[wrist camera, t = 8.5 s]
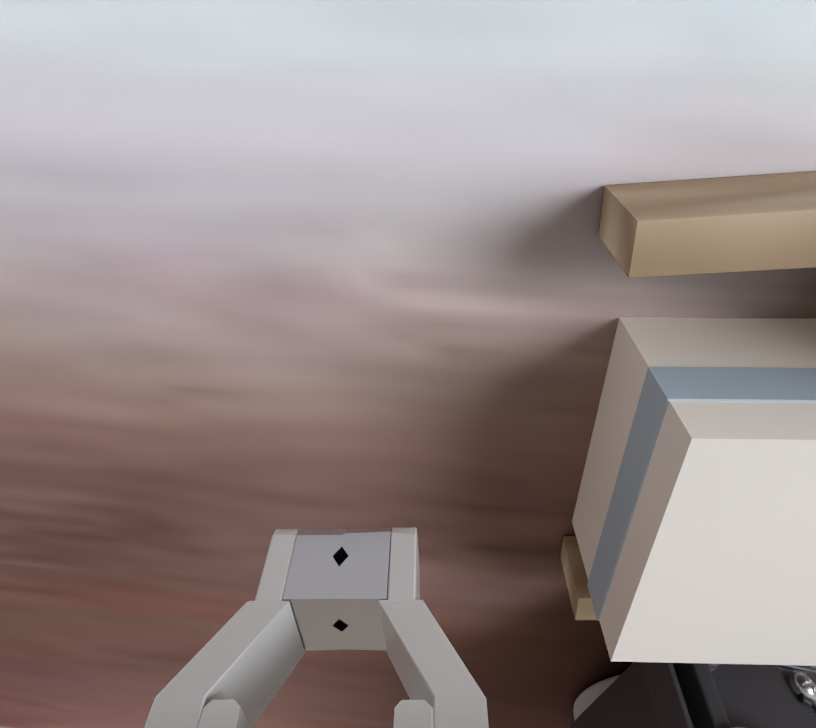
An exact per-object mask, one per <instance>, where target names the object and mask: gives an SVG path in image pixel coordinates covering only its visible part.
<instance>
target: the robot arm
mask: <svg viewBox="0 0 816 728" xmlns="http://www.w3.org/2000/svg"><path fill="white" fill-rule="evenodd" d="M344 649H348V650H387V654H388V656H389V658H390V660H391V662H392V664H393V666H394V668H395V670H396V672H397V674H398V676H399V678H400V680H401V682H402V684H403V686H404V688H405V690H406V692H407V694H408V696H409V698H410V700H401V701H400V702H399V703H398V704H397V706H396V707H395V708H394V725H393V728H489V724H488V713H487V701H486V697H485V696H484V694H483V693H482V691H481V689H480V688H479V686H478V685H477V683H476V682H475V680H474V679H473V677H472V676H471V674H470V672H469V671H468V669H467V668H466V666H465V665H464V663H463V662H462V660H461V658H460V657H459V655H458V654H457V652H456V651H455V649H454V648H453V646H452V645H451V643H450V641H449V640H448V638H447V637H446V635H445V634H444V632H443V631H442V629H441V628H440V626H439V624H438V623H437V621H436V620H435V618H434V617H433V615H432V614H431V612H430V611H429V609H428V607H427V606H426V604H425V603H424V601H423V600H420V574H419V553H418V537H417V527H407V528H392V527H380V528H346V529H276V530H275V532H274V534H273V535H272V538H271V541H270V545H269V549H268V552H267V556H266V560H265V563H264V567H263V571H262V575H261V578H260V582H259V586H258V589H257V593H256V597H255V600H254V601H247V602H246V603H245V604H244V605H243V606H242V607H241V608H240V609H239V610H238V611H237V612H236V613H235V614H234V616H233V617H232V618H231V619H230V620H229V621H228V622H227V623H226V624H225V625H224V626H223V627H222V628H221V629H220V630H219V631H218V632H217V633H216V634H215V635H214V636H213V637H212V638H211V640H210V641H209V642H208V643H207V644H206V645H205V646H204V647H203V648H202V649H201V650H200V651H199V652H198V653H197V654H196V655H195V656H194V657H193V658H192V659H191V660H190V661H189V662H188V664H187V665H186V666H185V667H184V668H183V669H182V670H181V671H180V672H179V673H178V674H177V675H176V676H175V677H174V678H173V679H172V680H171V681H170V682H169V683H168V684H167V685H166V686H165V688H164V689H163V690H162V691H161V692H160V693H159V694H158V695H157V696H156V697H155V700H154V702H153V705H152V708H151V710H150V713H149V716H148V718H147V721H146V724H145V726H144V728H254V726H255V725H256V723H257V722H258V720H259V719H260V717H261V716H262V715H263V713H264V712H265V710H266V709H267V707H268V706H269V705H270V703H271V702H272V700H273V699H274V697H275V696H276V695H277V693H278V692H279V690H280V689H281V687H282V686H283V685H284V683H285V682H286V680H287V679H288V677H289V676H290V675H291V673H292V672H293V670H294V669H295V667H296V666H297V665H298V663H299V662H300V660H301V659H302V657H303V656H304V655H305V651H312V650H344Z"/></svg>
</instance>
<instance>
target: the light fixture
mask: <svg viewBox="0 0 816 728" xmlns="http://www.w3.org/2000/svg"><path fill="white" fill-rule="evenodd" d="M573 715H574V723H573V724H572V726H571V728H816V666H800V665H753V664H707V663H660V662H633V663H632V664H631V665H630V666H629V667H628V668H627V669H626V670H625V671H624V672H623V673H622V674H621V675H617V676H614V677H610V678H607V679H605V680H602V681H600V682H597V683H595V684H593V685H592V686H590V687H588V688H587V689H586V690H584V691H583V692H582V693H581V694H580V695H579V696H578V698H577V699H576V701H575V703H574V706H573Z"/></svg>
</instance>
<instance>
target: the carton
mask: <svg viewBox="0 0 816 728" xmlns="http://www.w3.org/2000/svg"><path fill="white" fill-rule="evenodd" d="M572 524H573V528H574V531H575V535H576V538H577V542H578V546H579V549H580V553H581V556H582V560H583V563H584V567H585V571H586V574H587V578H588V583H587V586H588V589H589V593H590V597H591V600H592V604H593V608H594V611H595V615H596V619H597V621H600V625H601V628H602V632H603V635H604V639H605V643H606V646H607V650H608V653H609V657H610V661H613V662H660V663H707V664H753V665H800V666H816V319H771V318H626V317H619V321H618V325H617V330H616V334H615V338H614V343H613V347H612V351H611V355H610V360H609V364H608V368H607V373H606V377H605V381H604V386H603V390H602V394H601V398H600V403H599V407H598V411H597V416H596V420H595V424H594V429H593V433H592V437H591V442H590V446H589V450H588V454H587V459H586V463H585V467H584V472H583V476H582V480H581V485H580V489H579V493H578V498H577V502H576V506H575V510H574V515H573V519H572Z"/></svg>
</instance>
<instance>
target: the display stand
mask: <svg viewBox="0 0 816 728" xmlns="http://www.w3.org/2000/svg"><path fill="white" fill-rule="evenodd" d="M599 237H600V238H601V240H602V241H603V242H604V244H605V245H606V247H607V248H608V249H609V251H610V252H611V254H612V255H613V256H614V258H615V259H616V261H617V262H618V264H619V265H620V266H621V268H622V269H623V271H624V272H625V273H626V275H627V276H628V278H637V277H654V276H672V275H689V274H707V273H724V272H742V271H760V270H777V269H795V268H812V267H816V171H810V172H795V173H780V174H765V175H751V176H736V177H721V178H706V179H691V180H677V181H662V182H647V183H632V184H618V185H605V186H604V194H603V203H602V211H601V219H600V228H599ZM561 563H562V567H563V571H564V575H565V579H566V584H567V588H568V592H569V596H570V600H571V605H572V609H573V613H574V617H575V620H597V619H596V615H595V611H594V608H593V604H592V600H591V597H590V593H589V589H588V586H587V583H588V578H587V574H586V571H585V567H584V563H583V560H582V556H581V553H580V549H579V546H578V542H577V538H576V536H563V541H562V549H561Z"/></svg>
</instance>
